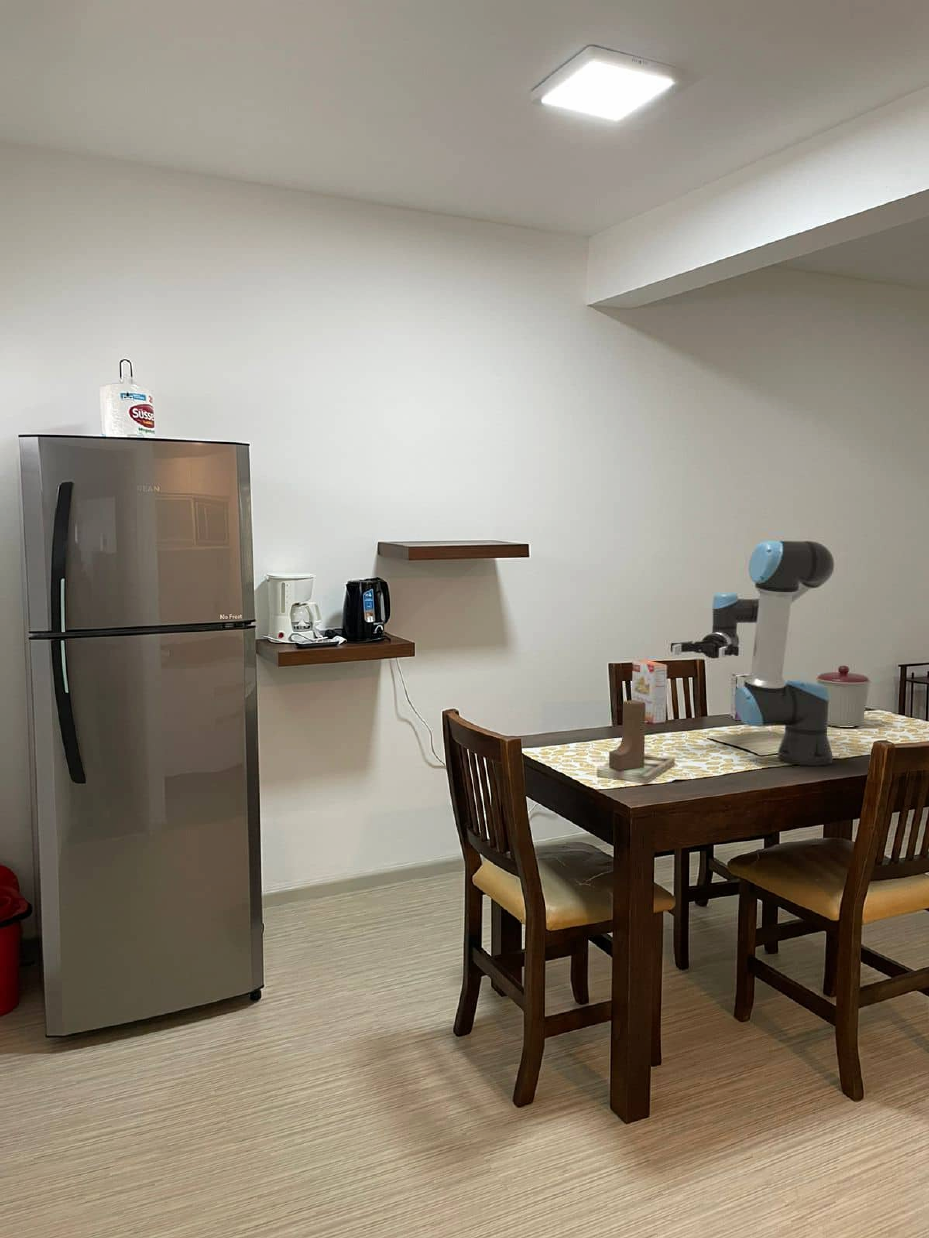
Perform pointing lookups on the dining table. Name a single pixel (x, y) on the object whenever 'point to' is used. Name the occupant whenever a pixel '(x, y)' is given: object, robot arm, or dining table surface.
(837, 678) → the canister
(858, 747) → the dining table surface
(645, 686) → the cracker box
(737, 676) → the candy bar box
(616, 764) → the wooden block
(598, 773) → the board
